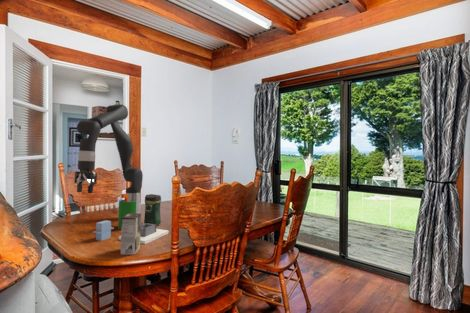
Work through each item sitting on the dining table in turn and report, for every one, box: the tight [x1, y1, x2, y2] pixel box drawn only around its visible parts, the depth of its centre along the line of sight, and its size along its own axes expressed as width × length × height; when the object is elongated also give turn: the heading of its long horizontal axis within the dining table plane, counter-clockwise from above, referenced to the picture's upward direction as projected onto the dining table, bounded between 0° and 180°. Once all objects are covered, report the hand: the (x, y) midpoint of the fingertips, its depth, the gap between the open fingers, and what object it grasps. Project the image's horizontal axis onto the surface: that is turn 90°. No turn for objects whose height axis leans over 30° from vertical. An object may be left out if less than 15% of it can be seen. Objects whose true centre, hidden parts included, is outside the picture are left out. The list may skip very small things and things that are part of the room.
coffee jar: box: [143, 193, 162, 227], centre depth 168 cm, size 10×8×19 cm
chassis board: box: [118, 222, 169, 245], centre depth 144 cm, size 20×16×6 cm
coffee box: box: [120, 213, 142, 255], centre depth 123 cm, size 9×6×16 cm
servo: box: [92, 220, 115, 241], centre depth 138 cm, size 10×4×8 cm, turn 160°
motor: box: [117, 193, 136, 230], centre depth 159 cm, size 10×9×20 cm
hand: (84, 192), depth 136 cm, fingers open, 8 cm apart
